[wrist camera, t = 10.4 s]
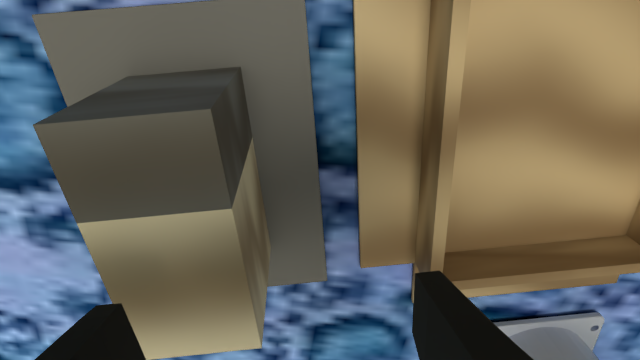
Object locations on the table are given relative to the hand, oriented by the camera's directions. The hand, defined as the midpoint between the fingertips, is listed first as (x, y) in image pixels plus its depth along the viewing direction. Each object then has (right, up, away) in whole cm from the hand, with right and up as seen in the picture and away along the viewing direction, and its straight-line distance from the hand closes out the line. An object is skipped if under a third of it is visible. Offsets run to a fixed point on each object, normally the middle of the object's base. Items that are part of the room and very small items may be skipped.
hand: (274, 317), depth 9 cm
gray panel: (-4, +4, +8) cm, 10 cm away
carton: (+12, +6, +8) cm, 16 cm away
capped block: (-4, +4, +8) cm, 9 cm away
